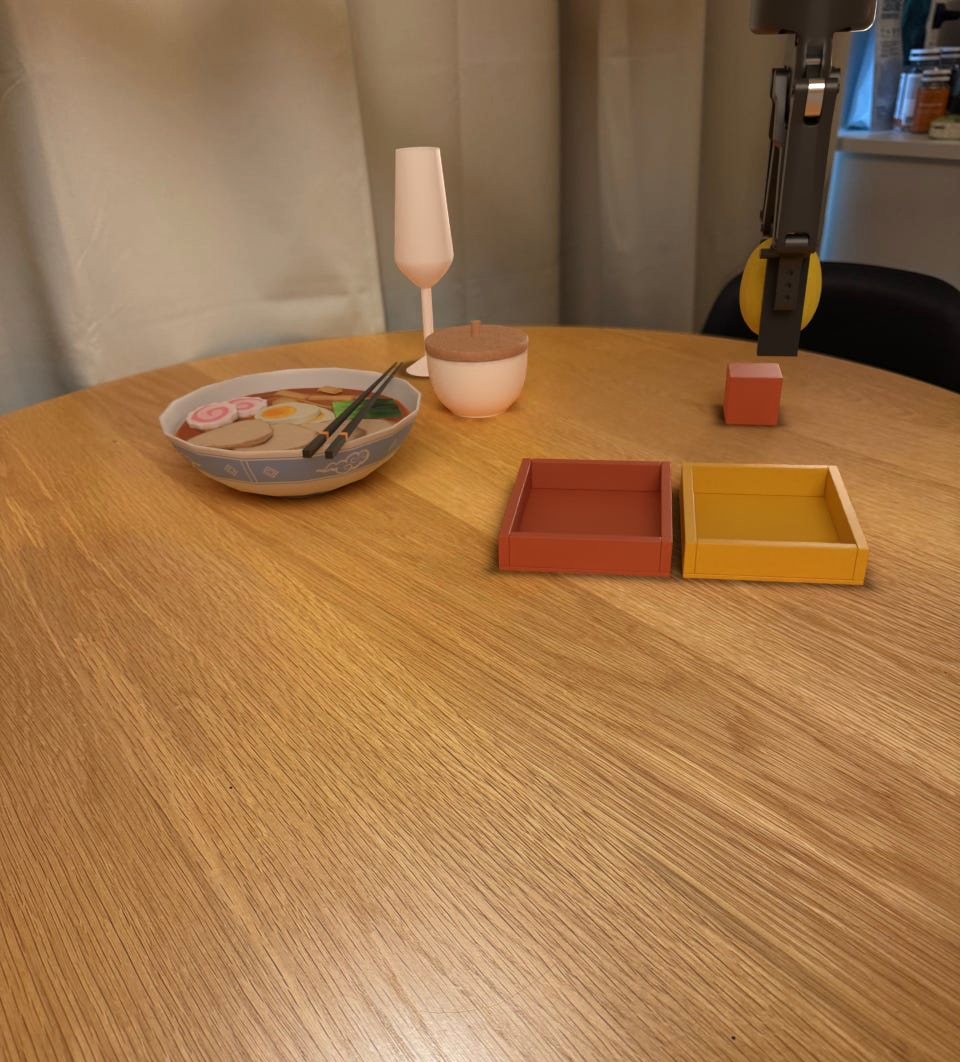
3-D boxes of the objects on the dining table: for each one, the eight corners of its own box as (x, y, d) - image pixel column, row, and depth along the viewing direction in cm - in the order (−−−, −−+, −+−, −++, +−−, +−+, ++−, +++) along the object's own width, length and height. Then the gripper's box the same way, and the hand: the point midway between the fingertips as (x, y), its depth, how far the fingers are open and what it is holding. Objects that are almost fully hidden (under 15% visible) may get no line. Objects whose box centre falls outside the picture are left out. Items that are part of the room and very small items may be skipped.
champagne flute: (391, 374, 120) (373, 151, 107) (425, 360, 124) (412, 145, 112) (436, 382, 116) (423, 153, 104) (470, 367, 121) (461, 146, 108)
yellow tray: (831, 500, 84) (837, 465, 83) (862, 588, 71) (870, 549, 70) (679, 495, 86) (681, 461, 85) (682, 580, 73) (685, 542, 72)
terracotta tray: (668, 495, 86) (670, 461, 85) (669, 580, 73) (672, 541, 72) (523, 491, 88) (522, 457, 87) (498, 573, 75) (497, 535, 74)
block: (772, 411, 104) (778, 363, 101) (776, 427, 100) (783, 377, 97) (722, 410, 105) (727, 362, 102) (725, 426, 101) (730, 377, 98)
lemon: (798, 361, 70) (814, 238, 66) (722, 351, 73) (733, 233, 68) (823, 341, 74) (839, 225, 70) (750, 333, 76) (762, 220, 72)
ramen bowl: (240, 431, 104) (227, 352, 100) (455, 440, 100) (451, 358, 95) (119, 535, 83) (96, 441, 79) (384, 552, 79) (375, 453, 75)
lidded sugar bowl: (482, 435, 101) (478, 340, 96) (408, 414, 107) (401, 324, 102) (549, 407, 107) (549, 317, 102) (476, 389, 114) (473, 303, 109)
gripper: (745, -33, 69) (715, 311, 81) (766, -49, 54) (725, 380, 66) (859, -38, 68) (811, 311, 80) (914, -56, 53) (845, 382, 65)
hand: (773, 342), depth 73 cm, fingers closed on lemon, 5 cm apart
